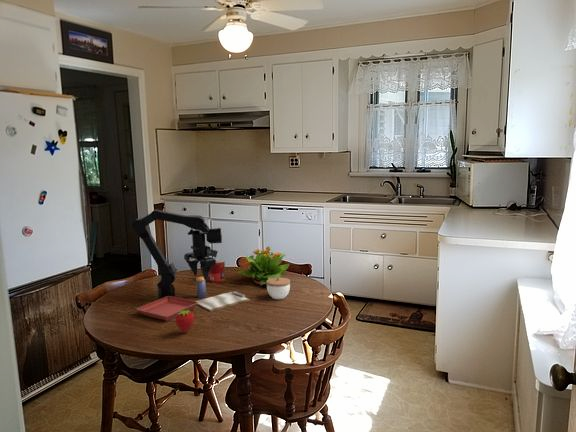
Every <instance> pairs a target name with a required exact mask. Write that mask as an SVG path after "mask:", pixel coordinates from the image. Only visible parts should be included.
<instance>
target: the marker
mask: <svg viewBox="0 0 576 432" xmlns="http://www.w3.org/2000/svg"><path fill="white" fill-rule="evenodd" d="M195 278H196V280H195V281H196V296H197V299H205V298H207V285H206V284H207V283H206V282H207V281H206V280H204V277H203V276H197V277H195Z"/></svg>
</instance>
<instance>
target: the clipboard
mask: <svg viewBox="0 0 576 432" xmlns="http://www.w3.org/2000/svg"><path fill="white" fill-rule="evenodd" d="M250 300H251V299H250V298H248V297H246V295H245V294H243V293H241V292H238V291H236V290H234V291H228V292H224V293H220V294H216V295H212V296H209V297H205V298H200V299H198V300H194V301H195V302H198V303H197V305H196V306H198V307H200V308H202V309H204V310H206V311H208V312H211V313H212V312H214V311H215V312H216V311H218V310H222V309H224V308H229V307H232V306H235V305H239V304H243V303H246V302H249V301H250Z"/></svg>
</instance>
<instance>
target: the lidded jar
mask: <svg viewBox="0 0 576 432" xmlns="http://www.w3.org/2000/svg"><path fill="white" fill-rule="evenodd" d="M266 283H267V284H266V290H267V293H268V295H269V296H270V297H271V298H272V299H273V300H284V299H285V298H286V297H287V295H289V293H290V289H291V280H290V278H286V277H282V276H280V277H277V278H271V279H268V280H267V281H266Z"/></svg>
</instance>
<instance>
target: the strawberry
mask: <svg viewBox="0 0 576 432" xmlns="http://www.w3.org/2000/svg"><path fill="white" fill-rule="evenodd" d="M185 308H186V307H185ZM185 308H184V309H185ZM179 312H181V313H178V316H177V317H175V324H176V325H177V326H176V327H177V328H179V330H180V331H181V332H182V333H183V334H186V333H188V331H189V330H190V329H191V327H192V326H193V324H194V321H195V314H194V313H193V312H192V310H190V311H188V310H187V311H184V310H183V311H179Z"/></svg>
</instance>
